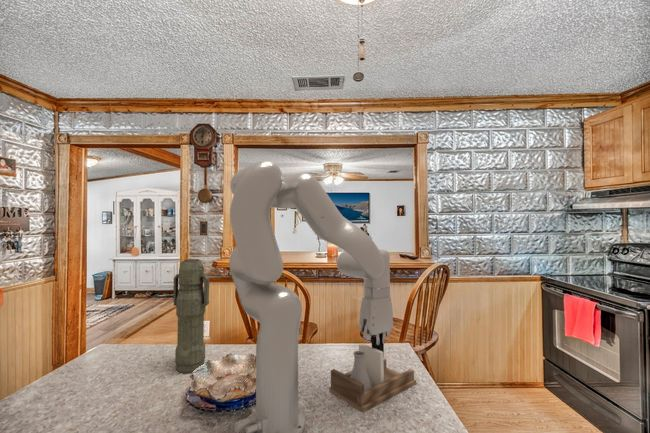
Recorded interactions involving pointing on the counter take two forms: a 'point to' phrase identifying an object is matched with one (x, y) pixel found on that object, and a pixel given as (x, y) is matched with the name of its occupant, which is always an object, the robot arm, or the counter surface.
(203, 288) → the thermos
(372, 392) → the wooden crate tray
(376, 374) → the rectangular block
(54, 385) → the counter surface
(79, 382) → the counter surface
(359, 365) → the flask
